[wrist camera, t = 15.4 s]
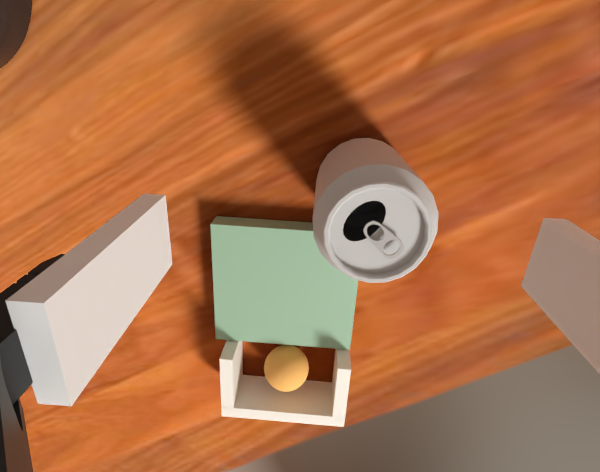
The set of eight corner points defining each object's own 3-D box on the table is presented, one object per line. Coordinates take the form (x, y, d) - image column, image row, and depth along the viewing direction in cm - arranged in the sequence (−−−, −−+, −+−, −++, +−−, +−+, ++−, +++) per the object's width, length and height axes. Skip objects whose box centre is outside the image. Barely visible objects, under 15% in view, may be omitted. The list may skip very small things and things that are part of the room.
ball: (260, 399, 37) (261, 362, 36) (267, 368, 41) (267, 333, 40) (306, 403, 37) (309, 366, 35) (308, 371, 41) (310, 337, 39)
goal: (232, 382, 42) (221, 416, 38) (230, 328, 40) (219, 358, 35) (342, 391, 42) (343, 426, 38) (348, 338, 39) (351, 369, 35)
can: (360, 115, 31) (378, 141, 20) (425, 177, 32) (475, 232, 21) (298, 184, 33) (284, 240, 22) (361, 238, 35) (377, 316, 24)
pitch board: (220, 326, 40) (215, 338, 38) (216, 215, 35) (210, 224, 33) (348, 336, 39) (349, 349, 37) (362, 225, 34) (363, 234, 32)
